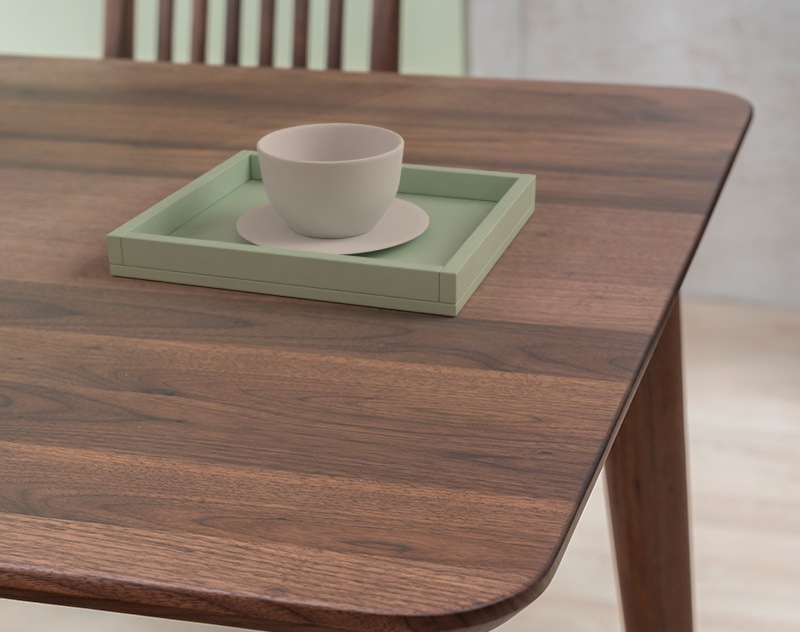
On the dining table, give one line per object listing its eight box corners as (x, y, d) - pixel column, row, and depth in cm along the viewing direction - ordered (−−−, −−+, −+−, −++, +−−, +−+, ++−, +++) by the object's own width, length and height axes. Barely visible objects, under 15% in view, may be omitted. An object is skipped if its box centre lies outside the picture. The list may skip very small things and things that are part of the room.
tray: (110, 275, 61) (105, 234, 61) (244, 184, 75) (242, 149, 74) (455, 317, 56) (456, 273, 55) (534, 211, 70) (536, 174, 69)
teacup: (420, 266, 60) (420, 171, 58) (217, 261, 61) (209, 167, 59) (436, 202, 69) (436, 117, 67) (258, 198, 70) (253, 115, 68)
